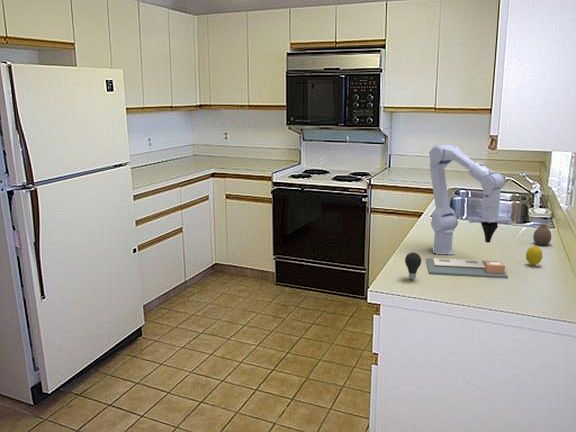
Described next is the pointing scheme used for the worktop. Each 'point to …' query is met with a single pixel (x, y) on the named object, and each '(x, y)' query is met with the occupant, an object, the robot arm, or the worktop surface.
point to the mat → (461, 271)
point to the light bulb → (412, 264)
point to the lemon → (534, 255)
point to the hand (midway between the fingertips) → (487, 241)
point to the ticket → (458, 263)
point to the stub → (494, 267)
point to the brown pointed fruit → (542, 235)
